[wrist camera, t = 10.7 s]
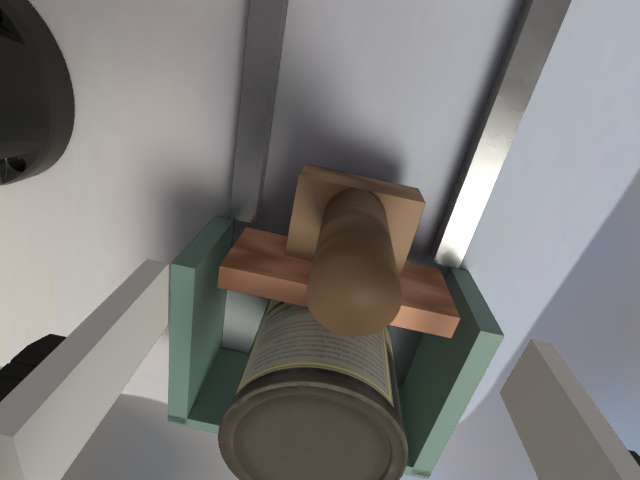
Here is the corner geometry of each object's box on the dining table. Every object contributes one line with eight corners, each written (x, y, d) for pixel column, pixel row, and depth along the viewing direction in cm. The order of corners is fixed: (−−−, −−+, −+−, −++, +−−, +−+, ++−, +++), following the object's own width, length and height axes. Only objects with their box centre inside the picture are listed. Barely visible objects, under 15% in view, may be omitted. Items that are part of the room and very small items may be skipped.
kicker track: (234, 211, 30) (229, 218, 28) (275, -185, 20) (269, -203, 18) (454, 259, 30) (458, 268, 28) (605, -112, 20) (624, -125, 18)
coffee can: (408, 323, 33) (441, 486, 20) (310, 363, 36) (285, 527, 23) (350, 230, 29) (346, 354, 17) (248, 282, 32) (178, 422, 20)
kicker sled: (244, 245, 28) (175, 355, 18) (254, 152, 25) (179, 216, 14) (433, 286, 29) (480, 421, 18) (467, 199, 25) (550, 297, 15)
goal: (205, 352, 36) (167, 423, 29) (216, 216, 30) (171, 263, 23) (413, 397, 36) (427, 479, 29) (468, 271, 30) (504, 336, 23)
